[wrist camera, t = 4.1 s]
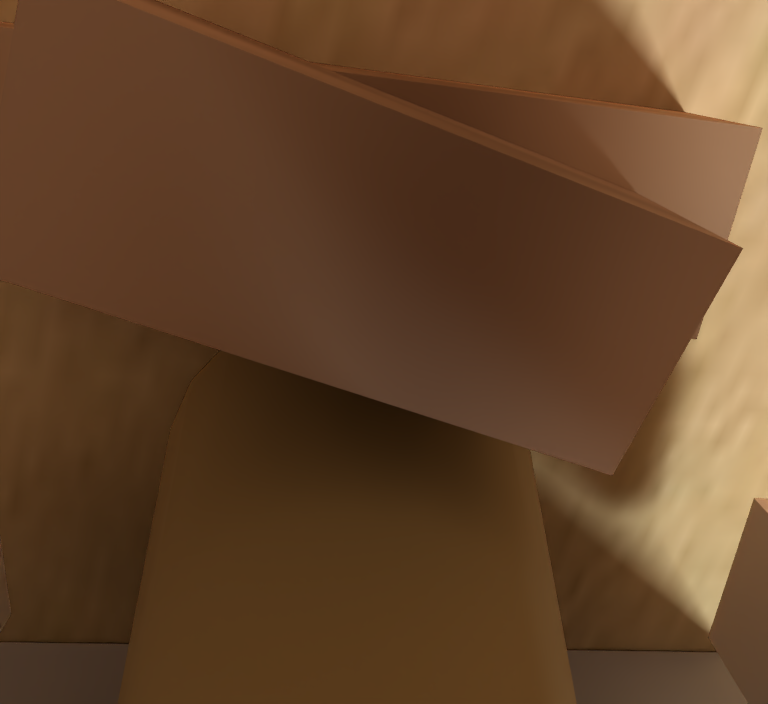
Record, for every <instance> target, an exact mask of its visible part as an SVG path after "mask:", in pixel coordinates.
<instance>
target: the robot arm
mask: <svg viewBox="0 0 768 704" xmlns="http://www.w3.org/2000/svg"><path fill="white" fill-rule="evenodd" d="M10 615H11V608H10V601H9V594H8V587H7V580H6V573H5V566H4V559H3V552H2V545H1V538H0V632H1V630H2V629H3V627H4V625H5V624H6V622H7V620H8V619H9V617H10ZM708 638H709V640H710V641H711V643H712V645H713V646H714V648H715V650H716V651H717V653H718V654H719V656H720V658H721V659H722V661H723V663H724V664H725V666H726V668H727V669H728V671H729V673H730V674H731V676H732V678H733V679H734V681H735V683H736V684H737V686H738V687H739V689H740V691H741V692H742V694H743V696H744V697H745V699H746V701H747V702H748V704H768V499H763V498H754V500H753V503H752V506H751V509H750V512H749V515H748V518H747V521H746V524H745V527H744V530H743V533H742V536H741V539H740V542H739V545H738V548H737V552H736V555H735V558H734V561H733V564H732V567H731V570H730V573H729V576H728V579H727V582H726V585H725V588H724V591H723V594H722V597H721V600H720V603H719V606H718V609H717V612H716V615H715V618H714V621H713V624H712V627H711V630H710V633H709V636H708Z"/></svg>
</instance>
